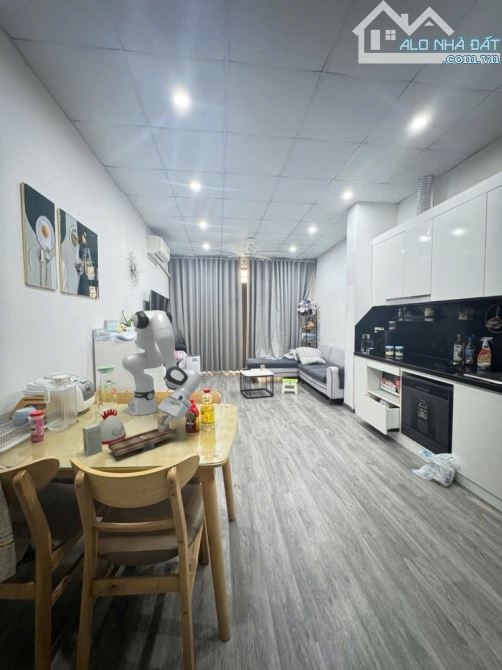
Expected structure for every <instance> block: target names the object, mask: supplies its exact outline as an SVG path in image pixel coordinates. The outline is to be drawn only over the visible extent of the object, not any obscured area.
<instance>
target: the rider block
mask: <svg viewBox="0 0 502 670" xmlns="http://www.w3.org/2000/svg"><path fill="white" fill-rule="evenodd" d="M156 415H157V416H156V417H157V428H158V431H159V432H160V433H164V432H167V431H169V428H170V422H169V423H168V424H167V425H166V424H164V423H163V422H164V420H166V419H167V418H168V416H169V415H168V414H166V413H163V414H161V413H160V414H156Z"/></svg>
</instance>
